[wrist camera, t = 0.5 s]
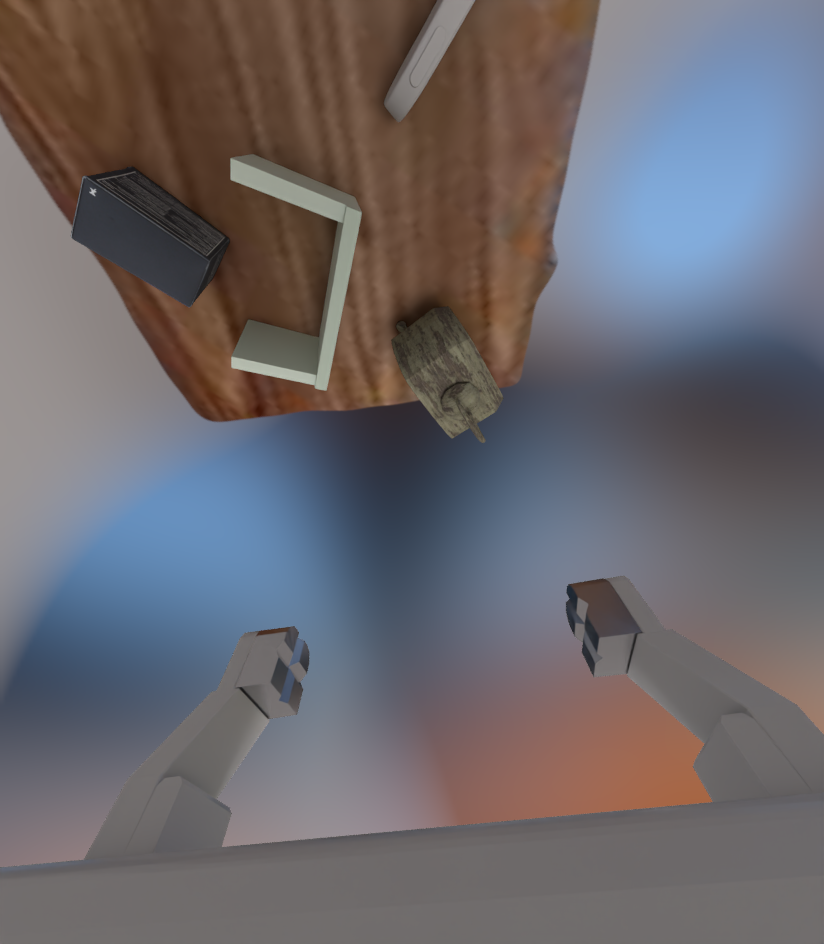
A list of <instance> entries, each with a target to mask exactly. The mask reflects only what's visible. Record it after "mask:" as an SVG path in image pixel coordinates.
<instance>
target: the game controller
mask: <svg viewBox="0 0 824 944" xmlns="http://www.w3.org/2000/svg"><path fill="white" fill-rule="evenodd" d="M474 2H475V0H437V2H436V4H435V5H434V7H433V9H432V11H431V13H430V15H429V17H428V18H427V20H426V22H425V24H424V26H423V28H422V29H421V31H420V33H419V35H418V37H417V38H416V40H415V42H414V44H413V45H412V47H411V49H410V51H409V53H408V54H407V56H406V58H405V60H404V62H403V64H402V66H401V67H400V69H399V71H398V73H397V75H396V77H395V79H394V81H393V83H392V85H391V87H390V89H389V91H388V93H387V95H386V98H385V100H384V106H385V107H386V109H387V110H388V111H389V112H390V114H391V115H392V116H393V117H394V119H395V120H396V121H397V122H400V121H401V120H402V119H403V118H404V117H405V116H406V115H407V113H408V112H409V111H410V109H411V108H412V106H413V105H414V103H415V102H416V100H417V99H418V97H419V96H420V94H421V92H422V91H423V89H424V88H425V86H426V84H427V83H428V81H429V79H430V78H431V76H432V74H433V72H434V71H435V69H436V67H437V66H438V64H439V62H440V60H441V59H442V57H443V55H444V53H445V52H446V50H447V48H448V47H449V45H450V43H451V41H452V40H453V38H454V36H455V34H456V33H457V31H458V29H459V28H460V26H461V24H462V22H463V21H464V19H465V17H466V15H467V14H468V12H469V10H470V9H471V7H472V5H473V3H474Z"/></svg>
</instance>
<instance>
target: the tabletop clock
mask: <svg viewBox="0 0 824 944" xmlns="http://www.w3.org/2000/svg"><path fill="white" fill-rule="evenodd" d="M396 327H397V330H398V331H400V332H401V333H400V334H399V335H397V336H396V337H395V338H393V339H392V346H393V350H394V354H395V356H396V359H397V362H398V365H399V367H400V369H401V372H402V374H403V376H404V378H405V380H406V381H407V383H408V384H409V386H410V387H411V389H412V390H413V392H414V393H415V394H416V396H417V397H418V398H419V400H420V401H421V402H422V403H423V405H424V406H425V407H426V409H427V410H428V411H429V412H430V414H431V415H432V416H433V418H434V419H435V420H436V421H437V422H438V423H439V425H440V426H441V427H442V428H443V430H444V431H445V432H446V433H447V434H448V435H449V436H450V437H451V438H454V437H455V436H457V435H458V434H460V433H462V432H463V431H465V430H467V429H468V428H470V429H471V430H472V432H473V433H474V434H475V436H476V437H477V438H478V440H479V441H481V442H483V443H484V442H485V438H484V437H483V435H482V433H481V431H480V429H479V427H478V425H477V423H478V422H480V421H481V420H483V419H485V418H486V417H488V416H489V415H491V414H493V413H494V412H496V410H497V409H498V407H499V405H500V403H501V401H502V400H503V396H502V394H501V392H500V390H499V388H498V387H497V385H496V383H495V381H494V379H493V377H492V376H491V374H490V372H489V370H488V368H487V366H486V365H485V363H484V361H483V359H482V357H481V356H480V354H479V352H478V350H477V349H476V347H475V345H474V343H473V342H472V340H471V338H470V337H469V335H468V333H467V332H466V330H465V329H464V327H463V326H462V325H461V323H460V322H459V320H458V319H457V317H456V316H455V315H454V313H453V312H452V311H451V309H450V308H449V307H448V306H447V307H439V308H433V309H431V310H430V311H429V312H428V313H426V314H425V315H424V316H422V317H421V318H420V319H418V320H417V321H416V322H414V323H413V324H412V325H410V326H409V327H408V328H407V325H406V323H405V322H404V321H399V322H398V323H397V326H396Z"/></svg>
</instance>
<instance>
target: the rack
mask: <svg viewBox="0 0 824 944" xmlns="http://www.w3.org/2000/svg"><path fill="white" fill-rule="evenodd" d="M231 180H232V181H235V182H238V183H240V184H243V185H245V186H248V187H250V188H253V189H256V190H258V191H261V192H263V193H266V194H269V195H271V196H274V197H276V198H279V199H281V200H284V201H287V202H289V203H292V204H294V205H297V206H300V207H302V208H305V209H307V210H310V211H312V212H315V213H318V214H320V215H323V216H325V217H328V218H331V219H333V220H336V221H338V224H337V230H336V236H335V242H334V248H333V254H332V260H331V266H330V272H329V278H328V285H327V291H326V297H325V303H324V309H323V315H322V321H321V327H320V333H319V337H315V336H311V335H307V334H303V333H299V332H296V331H292V330H288V329H284V328H280V327H276V326H272V325H269V324H265V323H261V322H257V321H253V320H249V319H248V321H247V323H246V326H245V328H244V330H243V332H242V335H241V337H240V339H239V341H238V343H237V346H236V348H235V350H234V352H233V354H232V368H235V369H240V370H245V371H249V372H254V373H259V374H264V375H269V376H273V377H278V378H283V379H288V380H292V381H297V382H302V383H307V384H311V385H315V388H316V389H320V390H325V391H326V390H327V385H328V380H329V375H330V370H331V365H332V360H333V355H334V350H335V345H336V340H337V335H338V330H339V325H340V320H341V315H342V310H343V305H344V300H345V295H346V290H347V285H348V280H349V275H350V270H351V265H352V260H353V255H354V250H355V245H356V240H357V235H358V230H359V225H360V220H361V215H362V211H361V209H360V207H359V205H358V203H357V200H356V198H355V197H354V196H351V195H349V194H347V193H344V192H342V191H340V190H337V189H335V188H332V187H330V186H328V185H325V184H323V183H321V182H318V181H316V180H313V179H311V178H309V177H306V176H304V175H302V174H299V173H297V172H294V171H292V170H290V169H287V168H285V167H283V166H280V165H278V164H275V163H273V162H271V161H268V160H266V159H263V158H261V157H259V156H256V155H254V154H250V155H245V156H239V157H233V158H231Z"/></svg>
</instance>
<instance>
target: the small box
mask: <svg viewBox="0 0 824 944" xmlns="http://www.w3.org/2000/svg"><path fill="white" fill-rule="evenodd" d="M71 238H73V239H74V240H75V241H77V242H79V243H81V244H82V245H84V246H86V247H87V248H89V249H91V250H92V251H94V252H96V253H98V254H99V255H101V256H103V257H104V258H106V259H108V260H110V261H111V262H113V263H115V264H116V265H118V266H120V267H122V268H123V269H125V270H127V271H128V272H130V273H132V274H133V275H135V276H137V277H139V278H140V279H142V280H144V281H145V282H147V283H149V284H150V285H152V286H154V287H155V288H157V289H159V290H161V291H162V292H164V293H166V294H167V295H169V296H171V297H172V298H174V299H176V300H177V301H179V302H181V303H182V304H184V305H186V306H187V307H191V306H192V305H193V303H194V302H195V300H196V299H197V298H198V296H199V295H200V294H201V293H202V291H203V290H204V289H205V288H206V286H207V285H208V284H209V282H210V281H211V280H212V279H213V277H214V275H215V273H216V271H217V268H218V266H219V264H220V262H221V260H222V257H223V255H224V253H225V251H226V249H227V247H228V244H229V242H230V240H229V238H228V237H226V236H225V235H224V234H222V233H221V232H220V231H218V230H217V229H216V228H214V227H213V226H212V225H210V224H209V223H208V222H206V221H205V220H204V219H202V218H201V217H200V216H198V215H197V214H196V213H194V212H193V211H192V210H190V209H189V208H188V207H186V206H185V205H184V204H182V203H181V202H180V201H178V200H177V199H176V198H175V197H173V196H172V195H170V194H169V193H167V192H166V191H165V190H163V189H162V188H161V187H160V186H158V185H157V184H155V183H154V182H153V181H151V180H150V179H149V178H147V177H146V176H144V175H143V174H142V173H140V172H139V171H138V170H136V169H135V168H134V167H127V168H126V169H122V170H117V171H112V172H106V173H101V174H96V175H91V176H83V177H82V183H81V188H80V193H79V197H78V203H77V208H76V212H75V217H74V222H73V227H72V231H71Z"/></svg>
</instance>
